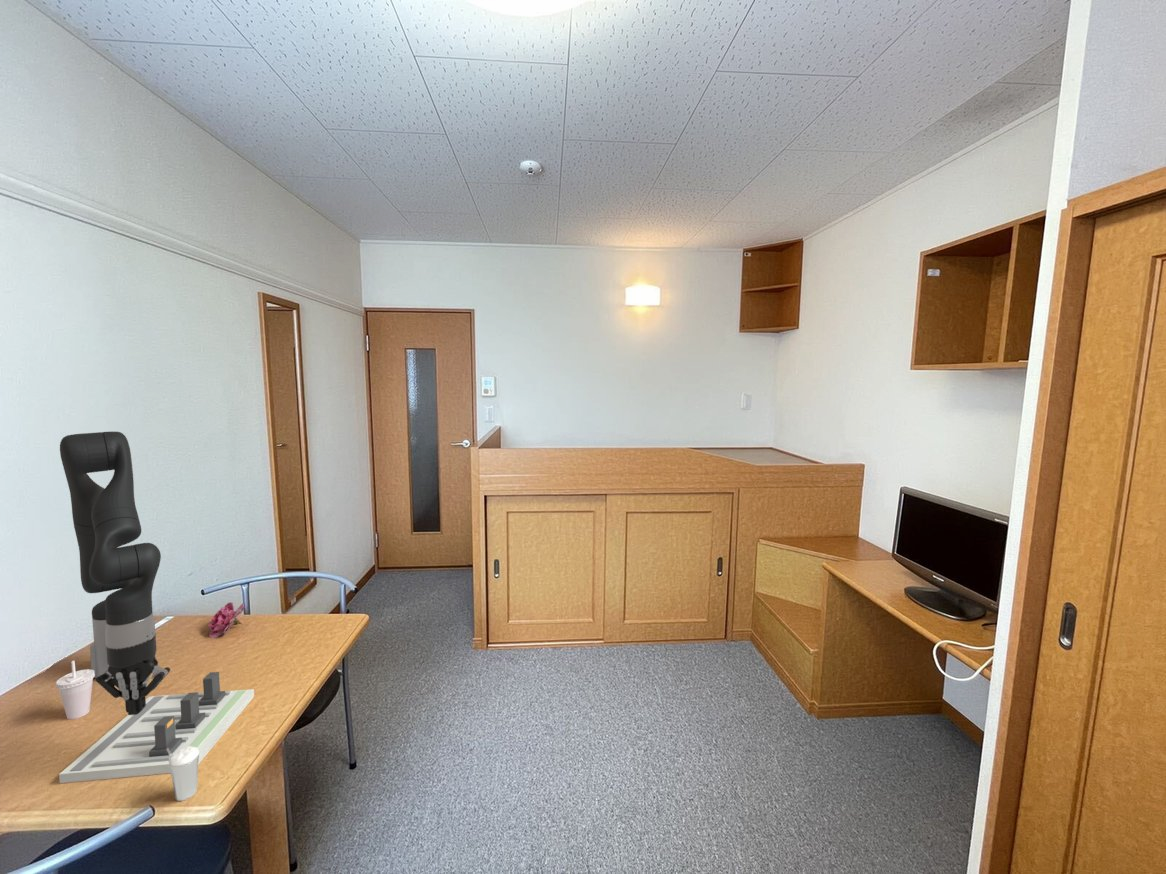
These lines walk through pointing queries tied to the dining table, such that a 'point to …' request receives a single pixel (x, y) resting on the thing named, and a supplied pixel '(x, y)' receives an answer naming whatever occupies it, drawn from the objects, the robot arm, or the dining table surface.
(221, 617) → the flower
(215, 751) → the dining table surface
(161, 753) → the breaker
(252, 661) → the dining table surface
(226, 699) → the panel
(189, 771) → the milkshake
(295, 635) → the dining table surface
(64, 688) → the smoothie
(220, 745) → the dining table surface
